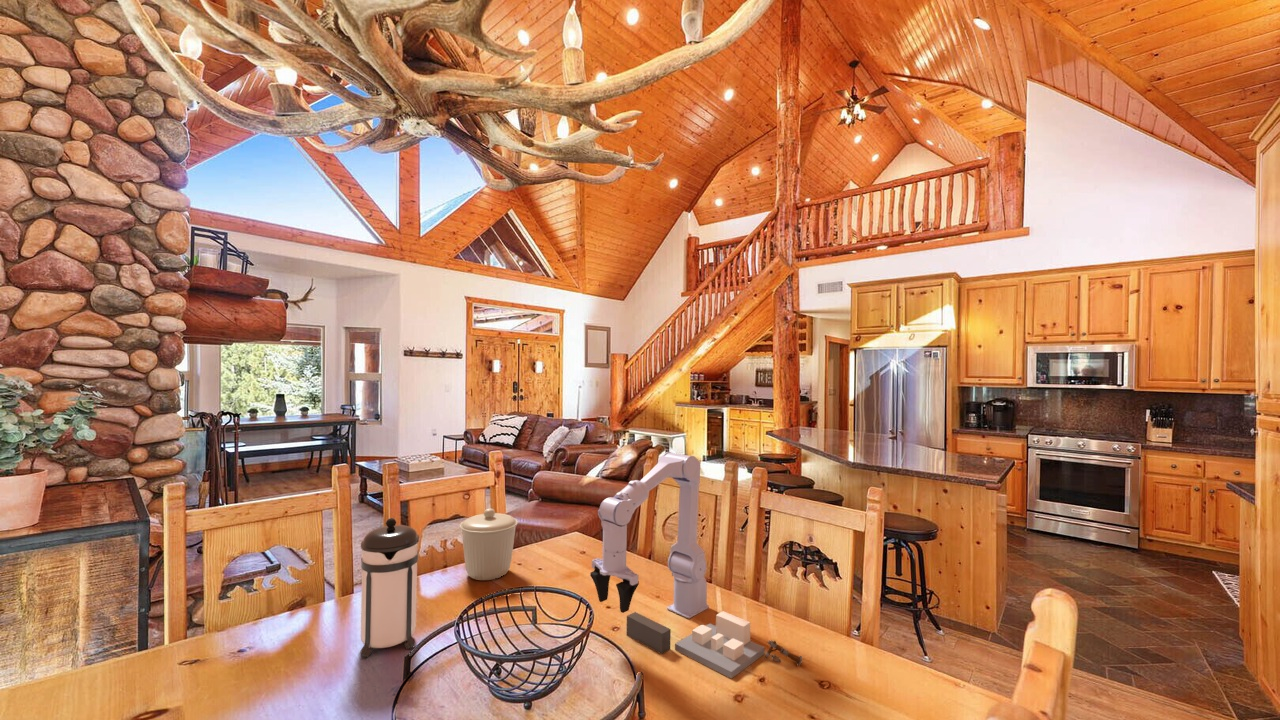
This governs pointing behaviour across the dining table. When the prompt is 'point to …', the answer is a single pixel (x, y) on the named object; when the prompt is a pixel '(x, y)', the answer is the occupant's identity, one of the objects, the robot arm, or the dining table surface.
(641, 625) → the charcoal rectangular block
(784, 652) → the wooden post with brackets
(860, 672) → the dining table surface
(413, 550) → the coffee press
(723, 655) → the stand
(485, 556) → the canister
